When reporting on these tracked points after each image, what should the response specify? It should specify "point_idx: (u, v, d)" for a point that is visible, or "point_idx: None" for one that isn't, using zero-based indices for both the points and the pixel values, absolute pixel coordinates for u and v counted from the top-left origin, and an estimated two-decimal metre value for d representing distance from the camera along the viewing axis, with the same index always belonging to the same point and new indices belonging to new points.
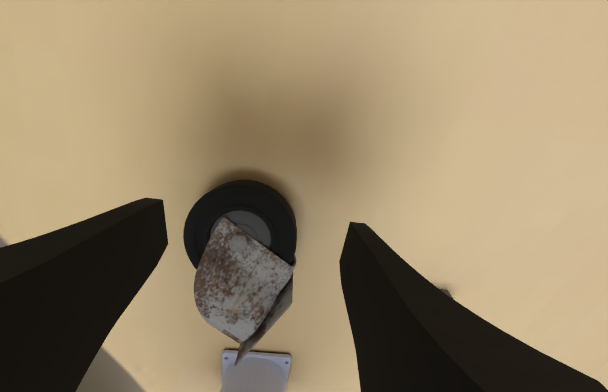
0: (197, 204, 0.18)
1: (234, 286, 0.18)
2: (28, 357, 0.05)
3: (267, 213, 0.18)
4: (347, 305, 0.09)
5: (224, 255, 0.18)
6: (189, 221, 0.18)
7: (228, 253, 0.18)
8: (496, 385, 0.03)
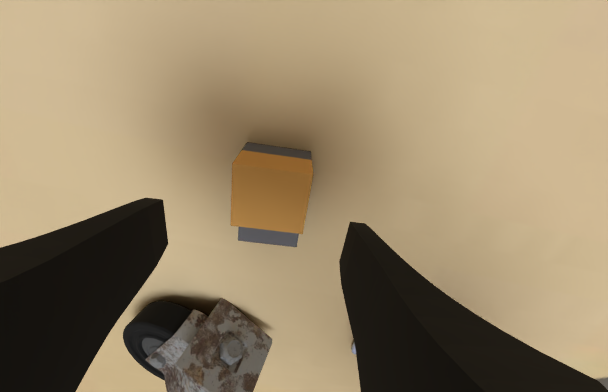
0: (143, 366, 0.25)
1: (181, 382, 0.21)
2: (28, 357, 0.05)
3: (138, 334, 0.22)
4: (347, 305, 0.09)
5: (170, 370, 0.23)
6: (155, 374, 0.25)
7: (169, 367, 0.23)
8: (496, 386, 0.03)
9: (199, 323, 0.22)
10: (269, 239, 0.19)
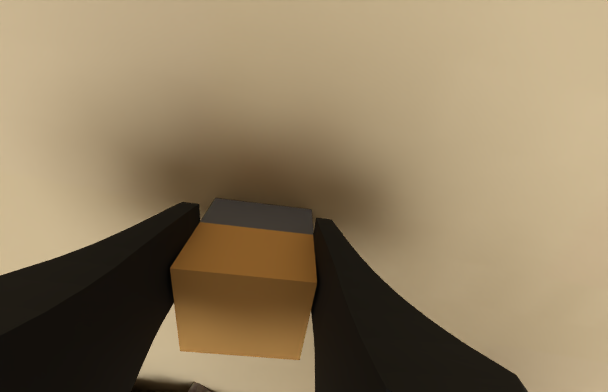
0: None
1: None
2: (98, 362, 0.05)
3: None
4: None
5: None
6: None
7: None
8: (400, 378, 0.03)
9: None
10: None
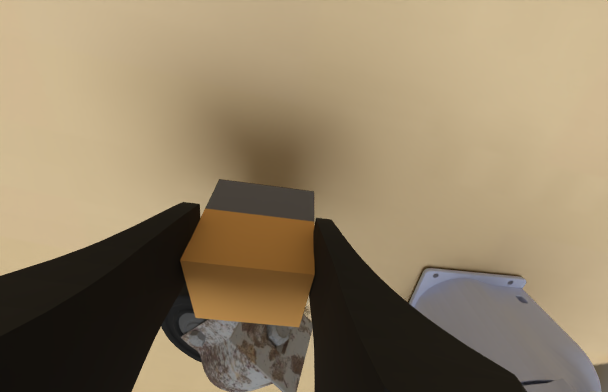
0: (175, 345, 0.23)
1: (224, 361, 0.20)
2: (98, 362, 0.05)
3: (178, 308, 0.21)
4: (310, 301, 0.09)
5: (209, 350, 0.21)
6: (187, 354, 0.23)
7: (208, 346, 0.21)
8: (400, 378, 0.03)
9: None
10: None
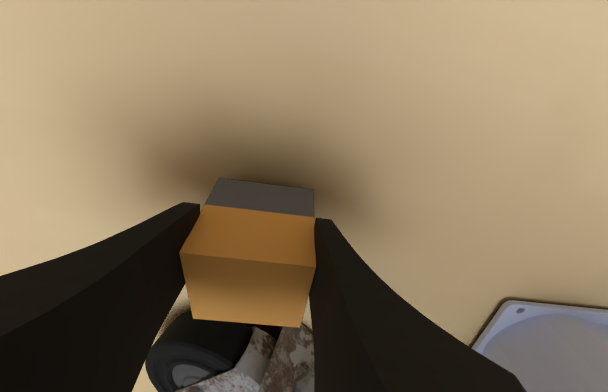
0: None
1: None
2: (99, 362, 0.05)
3: (173, 357, 0.15)
4: (310, 301, 0.09)
5: None
6: None
7: None
8: (399, 378, 0.03)
9: (265, 349, 0.15)
10: None
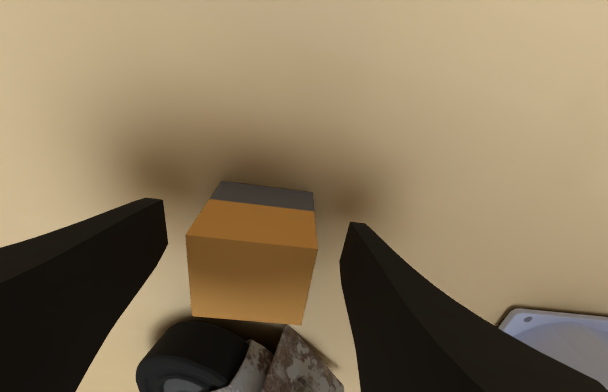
0: None
1: None
2: (28, 357, 0.05)
3: (165, 371, 0.15)
4: (347, 305, 0.09)
5: None
6: None
7: None
8: (495, 385, 0.03)
9: (262, 364, 0.15)
10: None
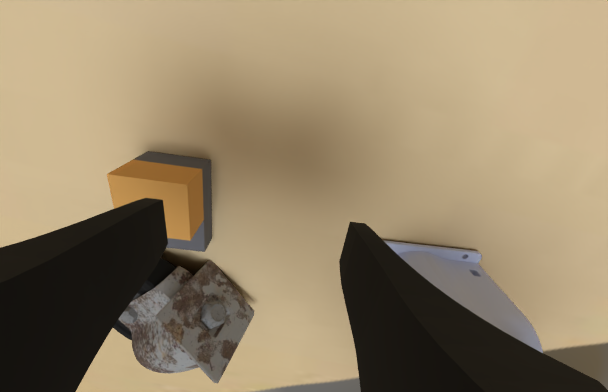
0: None
1: (153, 340, 0.19)
2: (28, 357, 0.05)
3: None
4: (347, 305, 0.09)
5: (140, 328, 0.21)
6: (119, 332, 0.22)
7: (140, 324, 0.21)
8: (496, 385, 0.03)
9: (183, 280, 0.20)
10: (177, 244, 0.20)
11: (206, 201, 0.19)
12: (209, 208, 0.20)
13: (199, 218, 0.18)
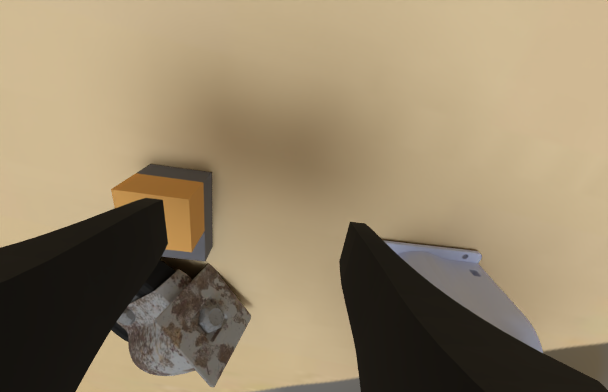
0: None
1: (150, 343, 0.20)
2: (28, 357, 0.05)
3: None
4: (347, 305, 0.09)
5: (137, 330, 0.21)
6: (115, 333, 0.22)
7: (137, 326, 0.21)
8: (496, 385, 0.03)
9: (182, 284, 0.21)
10: (178, 254, 0.20)
11: (207, 213, 0.19)
12: (210, 219, 0.20)
13: (200, 230, 0.18)
